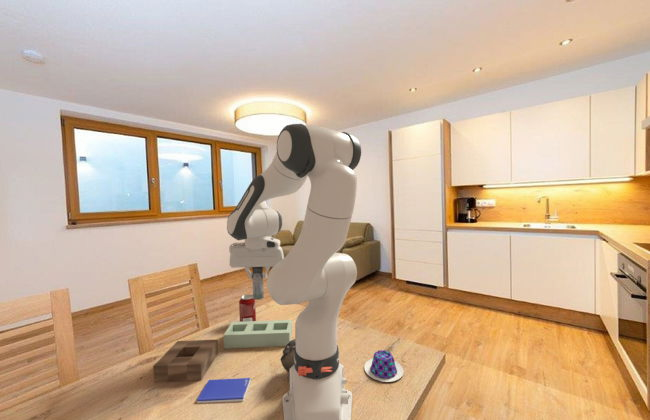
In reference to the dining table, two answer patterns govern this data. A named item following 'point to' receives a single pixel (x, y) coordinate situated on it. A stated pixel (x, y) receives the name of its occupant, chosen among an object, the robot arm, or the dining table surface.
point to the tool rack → (258, 334)
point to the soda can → (247, 308)
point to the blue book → (224, 390)
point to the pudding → (383, 367)
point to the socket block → (186, 361)
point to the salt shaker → (257, 283)
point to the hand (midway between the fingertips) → (257, 278)
